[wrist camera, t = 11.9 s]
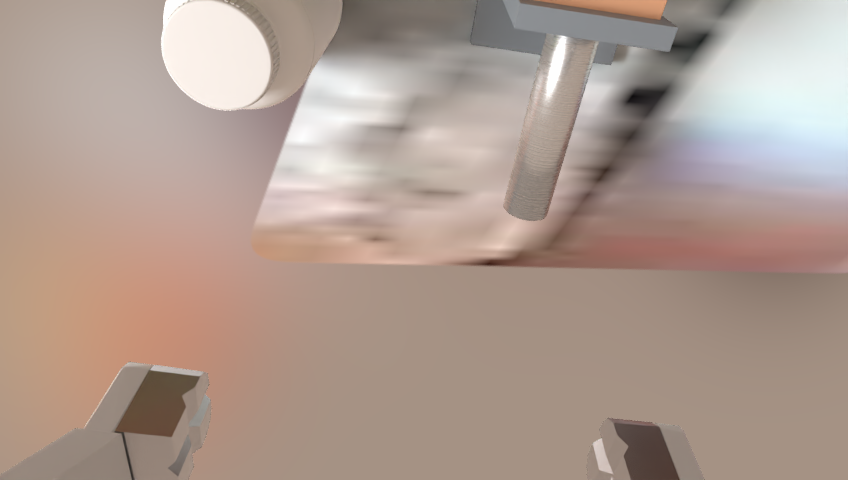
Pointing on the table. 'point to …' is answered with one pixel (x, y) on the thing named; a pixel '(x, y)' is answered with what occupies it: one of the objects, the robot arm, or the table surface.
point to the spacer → (619, 6)
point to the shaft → (548, 124)
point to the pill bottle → (245, 48)
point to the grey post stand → (565, 27)
